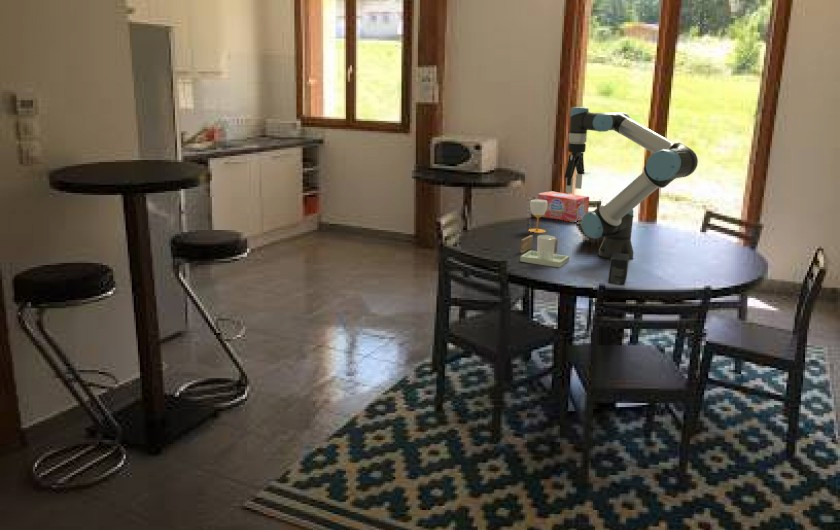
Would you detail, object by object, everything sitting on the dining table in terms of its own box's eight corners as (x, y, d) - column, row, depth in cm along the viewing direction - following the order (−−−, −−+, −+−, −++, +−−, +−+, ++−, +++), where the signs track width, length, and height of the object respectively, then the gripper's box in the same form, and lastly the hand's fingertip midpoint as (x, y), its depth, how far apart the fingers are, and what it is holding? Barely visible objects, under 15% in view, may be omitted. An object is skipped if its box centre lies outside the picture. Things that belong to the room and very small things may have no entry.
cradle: (556, 251, 316) (557, 238, 314) (547, 256, 306) (548, 243, 304) (530, 247, 322) (530, 234, 320) (520, 252, 312) (521, 239, 310)
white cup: (554, 262, 294) (555, 239, 291) (535, 261, 296) (537, 238, 293) (554, 257, 302) (555, 235, 299) (536, 256, 303) (537, 234, 300)
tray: (568, 261, 299) (569, 256, 298) (559, 267, 289) (560, 262, 288) (530, 255, 308) (530, 250, 307) (520, 261, 298) (520, 256, 297)
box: (536, 216, 393) (537, 192, 389) (549, 213, 402) (550, 190, 398) (575, 223, 375) (577, 199, 371) (588, 220, 383) (590, 196, 379)
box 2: (624, 285, 266) (627, 260, 263) (607, 283, 268) (609, 258, 265) (627, 278, 275) (629, 253, 272) (610, 276, 278) (612, 251, 275)
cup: (525, 229, 358) (527, 199, 353) (540, 228, 360) (542, 198, 356) (533, 233, 349) (535, 202, 345) (549, 232, 352) (551, 202, 348)
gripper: (577, 140, 312) (573, 186, 318) (559, 144, 292) (556, 193, 297) (593, 141, 309) (589, 187, 315) (576, 145, 288) (573, 195, 294)
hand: (573, 190), depth 306 cm, fingers open, 13 cm apart
